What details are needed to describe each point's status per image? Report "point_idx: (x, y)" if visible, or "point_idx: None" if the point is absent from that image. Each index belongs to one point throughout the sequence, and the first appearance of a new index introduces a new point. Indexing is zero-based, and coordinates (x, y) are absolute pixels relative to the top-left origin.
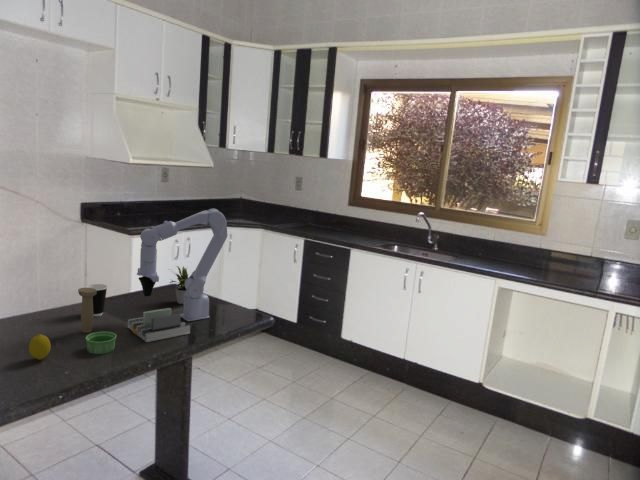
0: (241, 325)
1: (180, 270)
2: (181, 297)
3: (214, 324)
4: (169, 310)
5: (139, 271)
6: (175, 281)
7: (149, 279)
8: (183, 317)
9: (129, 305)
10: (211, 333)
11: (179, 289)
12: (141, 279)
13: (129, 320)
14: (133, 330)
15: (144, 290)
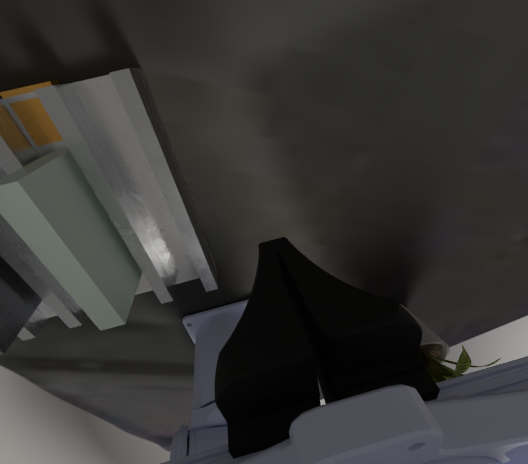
0: (128, 417)
1: None
2: None
3: (145, 371)
4: (96, 316)
5: (502, 446)
6: (458, 372)
7: (230, 429)
8: (218, 310)
9: (468, 137)
10: (50, 363)
11: (425, 347)
12: (284, 354)
13: (110, 75)
14: (31, 85)
15: (264, 268)
